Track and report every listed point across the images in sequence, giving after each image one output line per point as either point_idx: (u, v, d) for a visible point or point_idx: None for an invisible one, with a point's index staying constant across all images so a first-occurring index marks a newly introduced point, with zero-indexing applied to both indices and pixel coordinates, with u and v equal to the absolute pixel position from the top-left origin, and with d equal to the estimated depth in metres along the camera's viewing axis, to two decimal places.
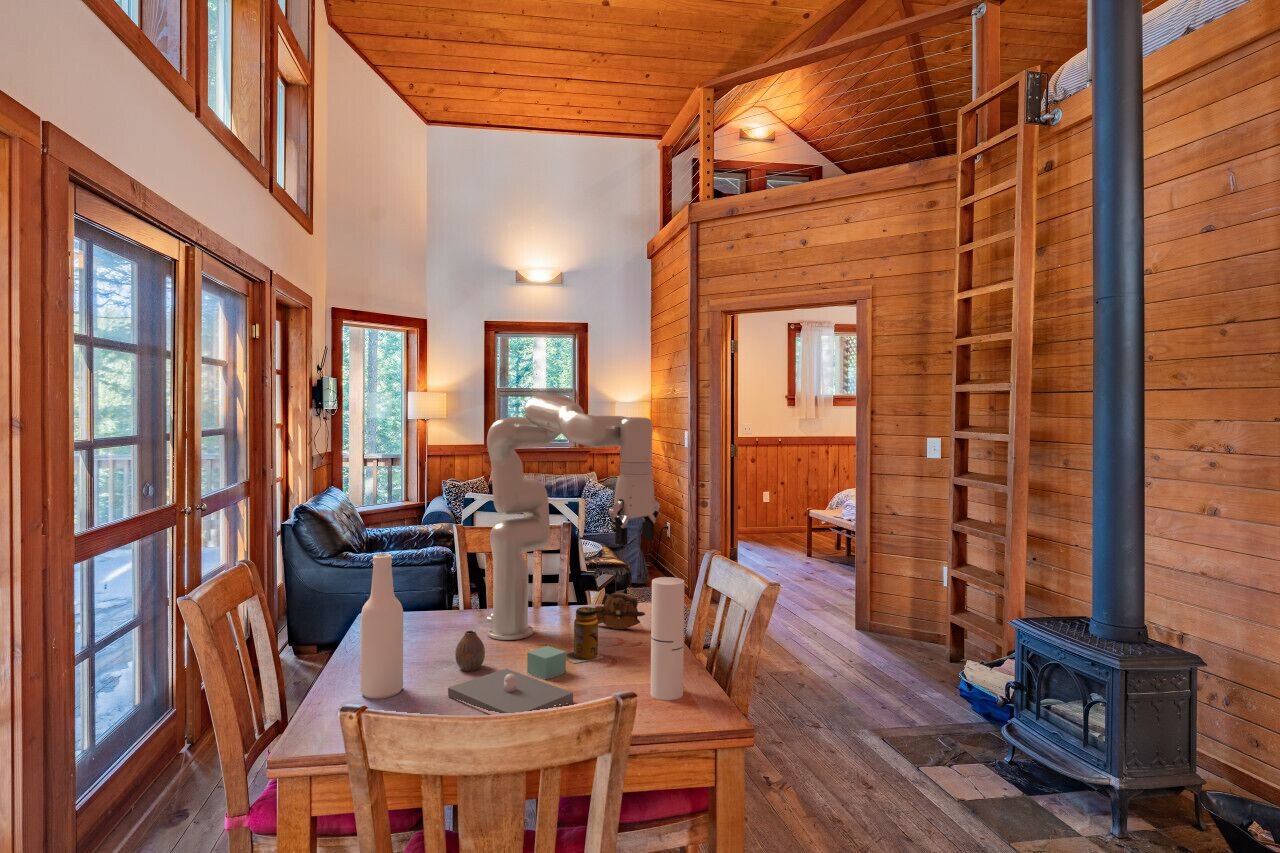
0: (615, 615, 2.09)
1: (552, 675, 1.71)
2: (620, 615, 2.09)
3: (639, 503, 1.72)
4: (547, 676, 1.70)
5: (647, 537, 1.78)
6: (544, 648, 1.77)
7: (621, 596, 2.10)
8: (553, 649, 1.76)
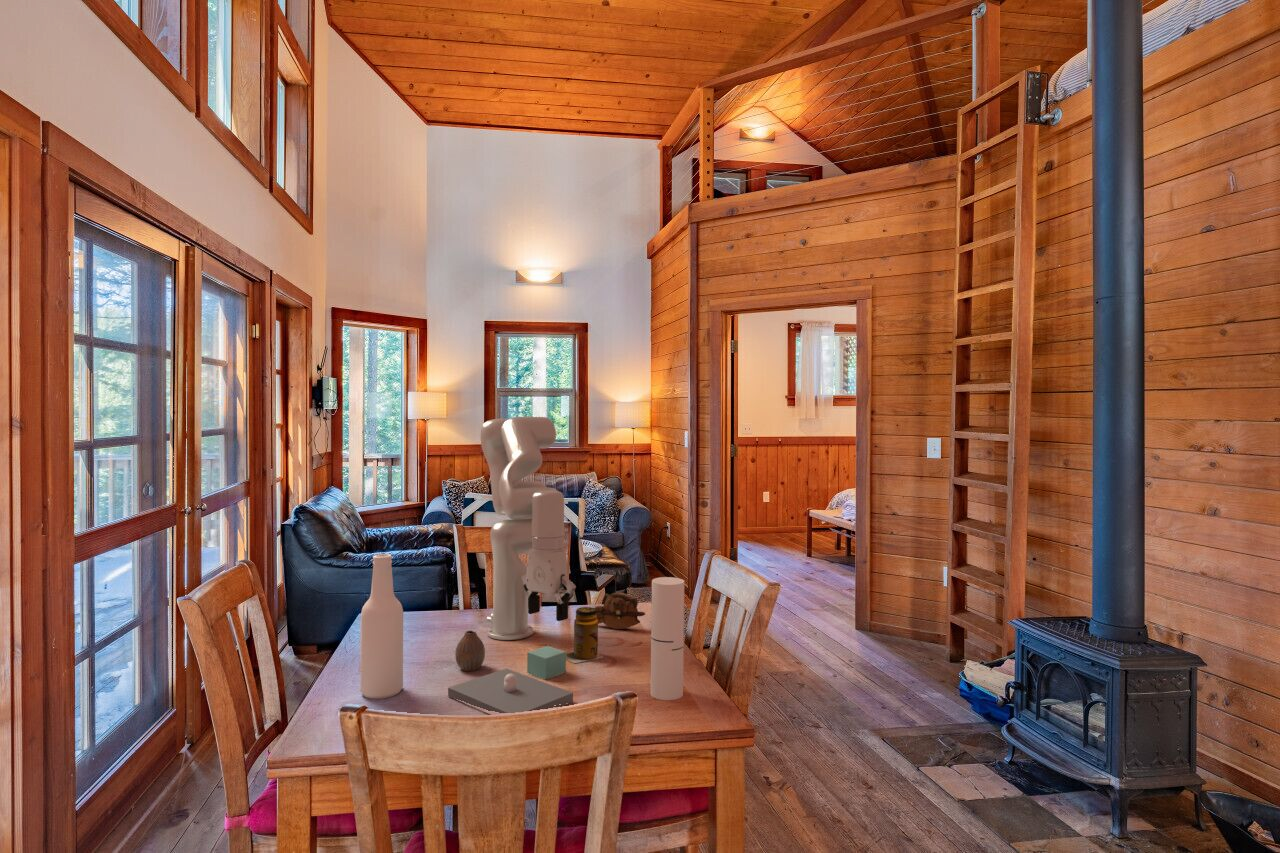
0: (615, 615, 2.09)
1: (552, 675, 1.71)
2: (620, 615, 2.09)
3: None
4: (547, 676, 1.70)
5: (535, 611, 1.76)
6: (544, 648, 1.77)
7: (621, 596, 2.10)
8: (553, 649, 1.76)
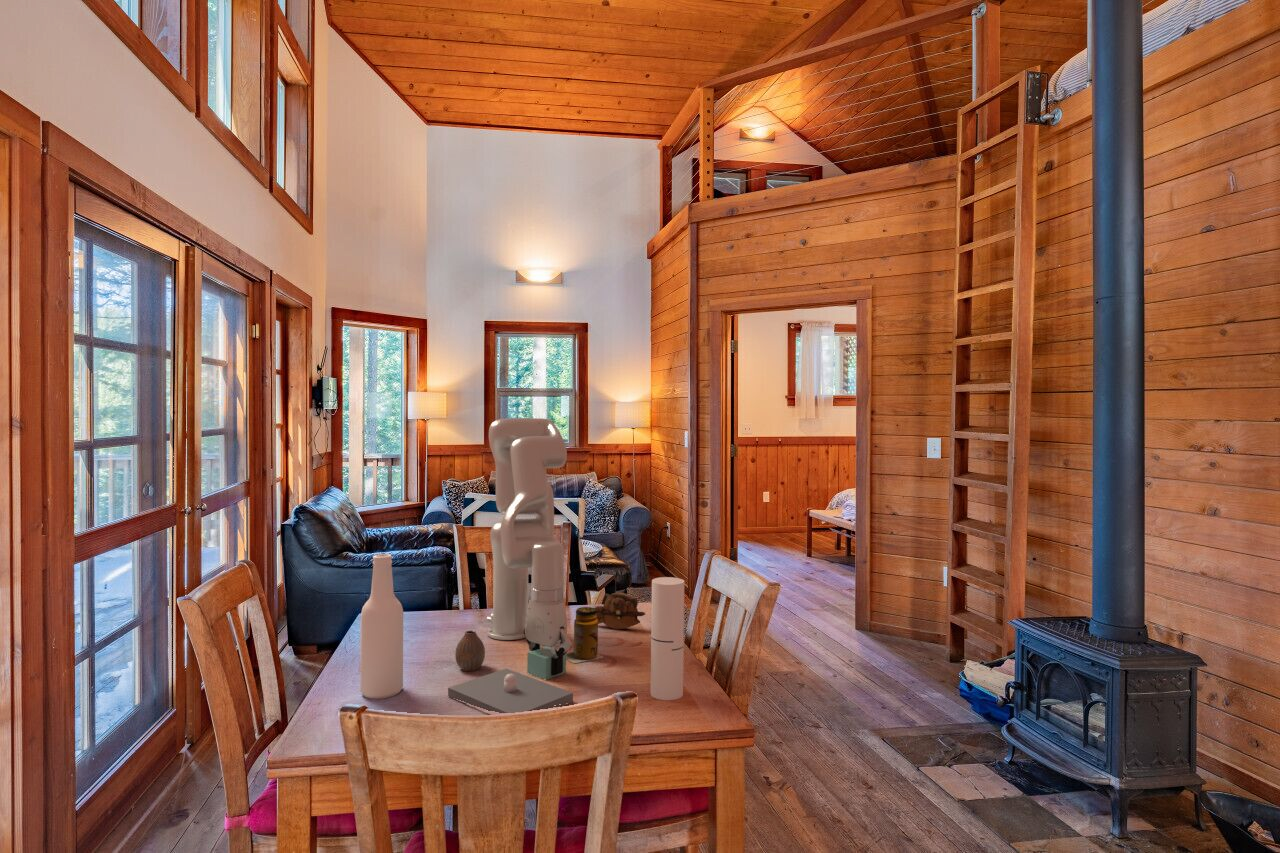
0: (615, 615, 2.09)
1: (552, 675, 1.71)
2: (620, 615, 2.09)
3: None
4: (547, 676, 1.70)
5: None
6: (544, 648, 1.77)
7: (621, 596, 2.10)
8: None
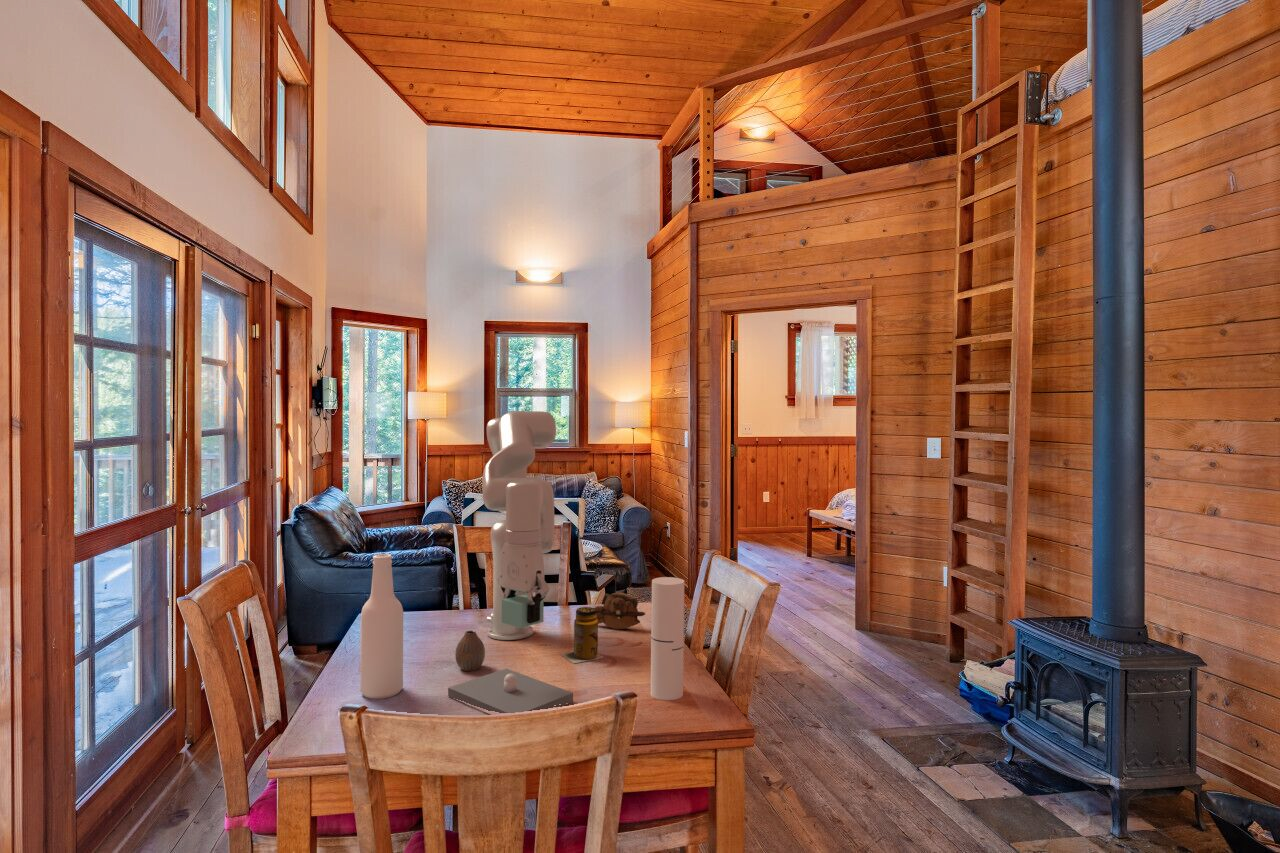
0: (615, 615, 2.09)
1: (528, 623, 1.59)
2: (620, 615, 2.09)
3: None
4: (523, 624, 1.58)
5: None
6: (520, 596, 1.65)
7: (621, 596, 2.10)
8: None
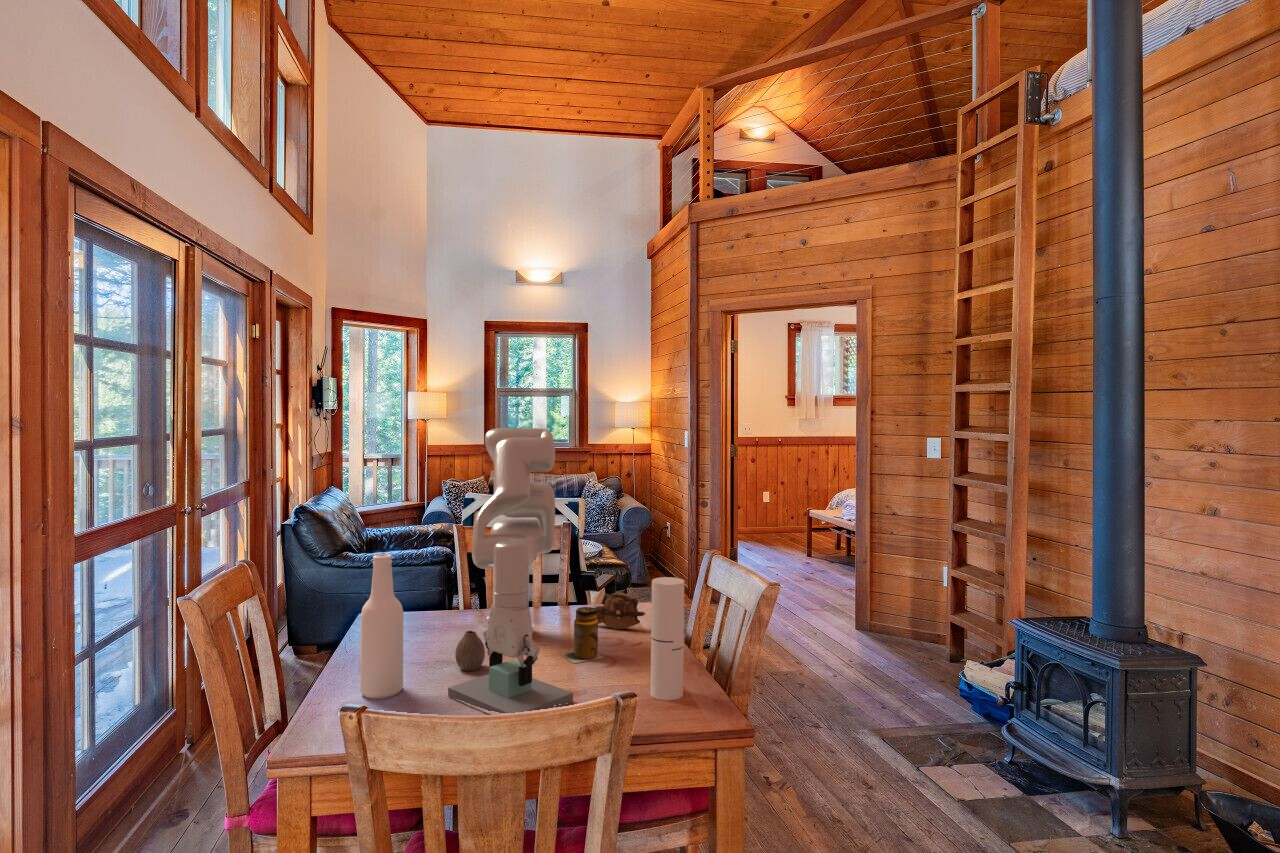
0: (615, 615, 2.09)
1: (515, 693, 1.55)
2: (620, 615, 2.09)
3: None
4: (510, 694, 1.54)
5: None
6: (508, 662, 1.61)
7: (621, 596, 2.10)
8: (518, 663, 1.60)
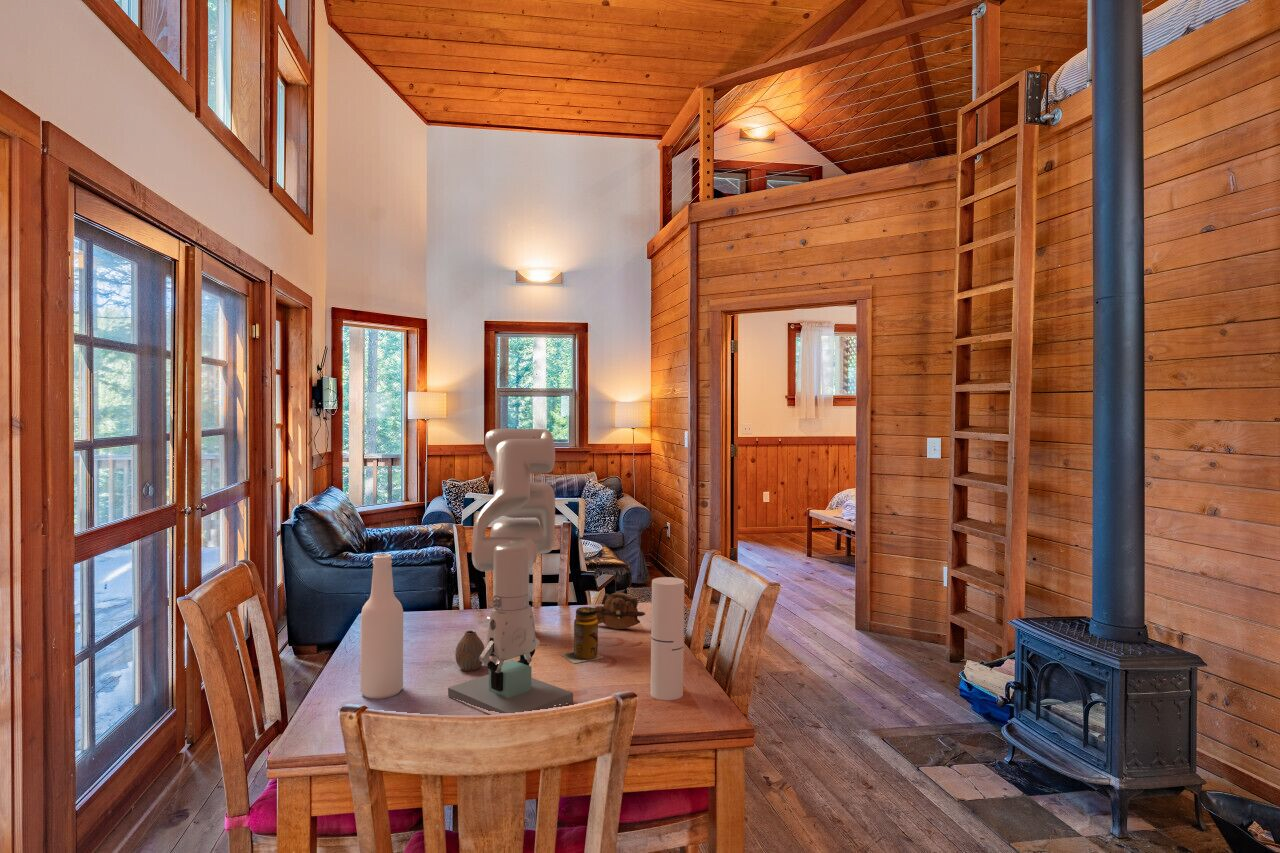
0: (615, 615, 2.09)
1: (515, 693, 1.55)
2: (620, 615, 2.09)
3: None
4: (510, 694, 1.54)
5: None
6: (507, 662, 1.60)
7: (621, 596, 2.10)
8: (518, 663, 1.60)
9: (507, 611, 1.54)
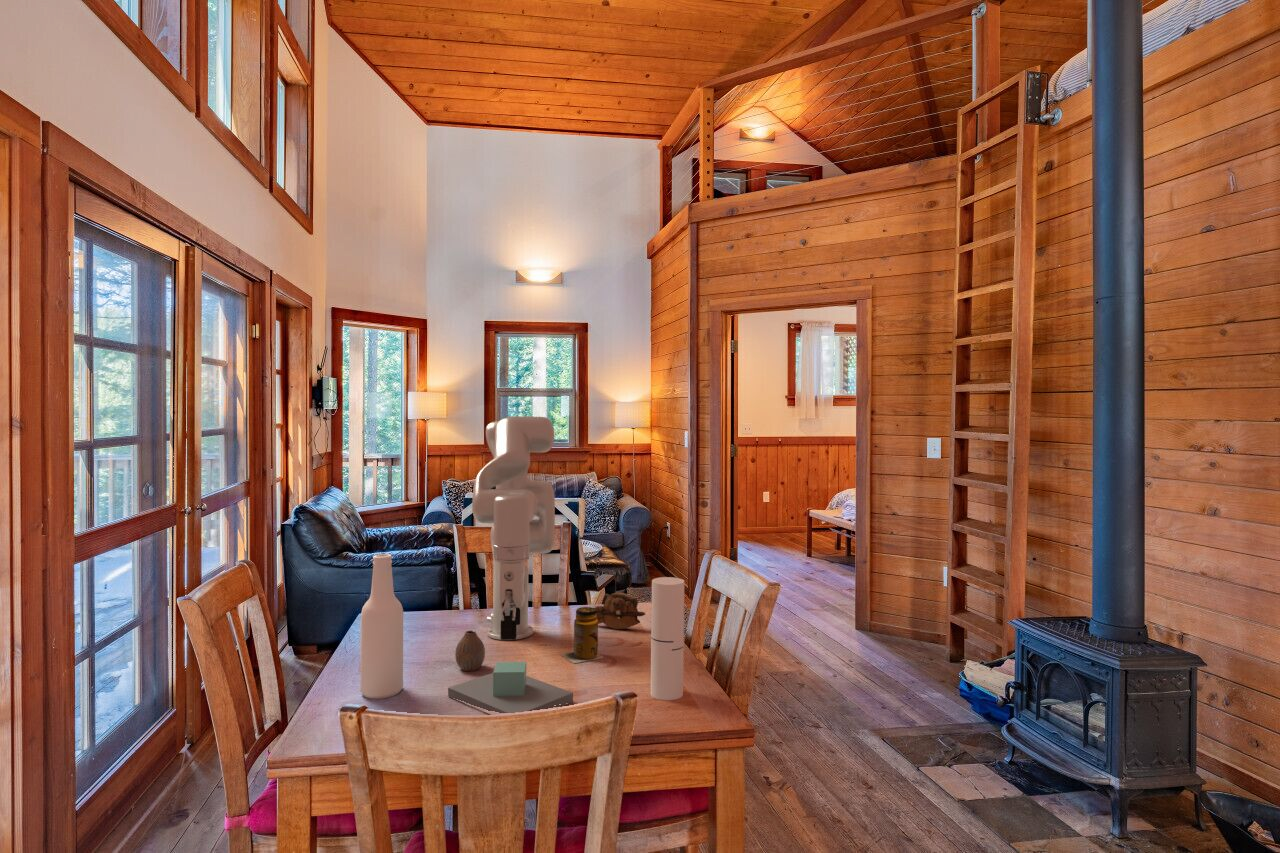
0: (615, 615, 2.09)
1: (524, 689, 1.57)
2: (620, 615, 2.09)
3: None
4: (524, 691, 1.56)
5: None
6: (499, 665, 1.59)
7: (621, 596, 2.10)
8: (510, 663, 1.60)
9: (521, 560, 1.55)
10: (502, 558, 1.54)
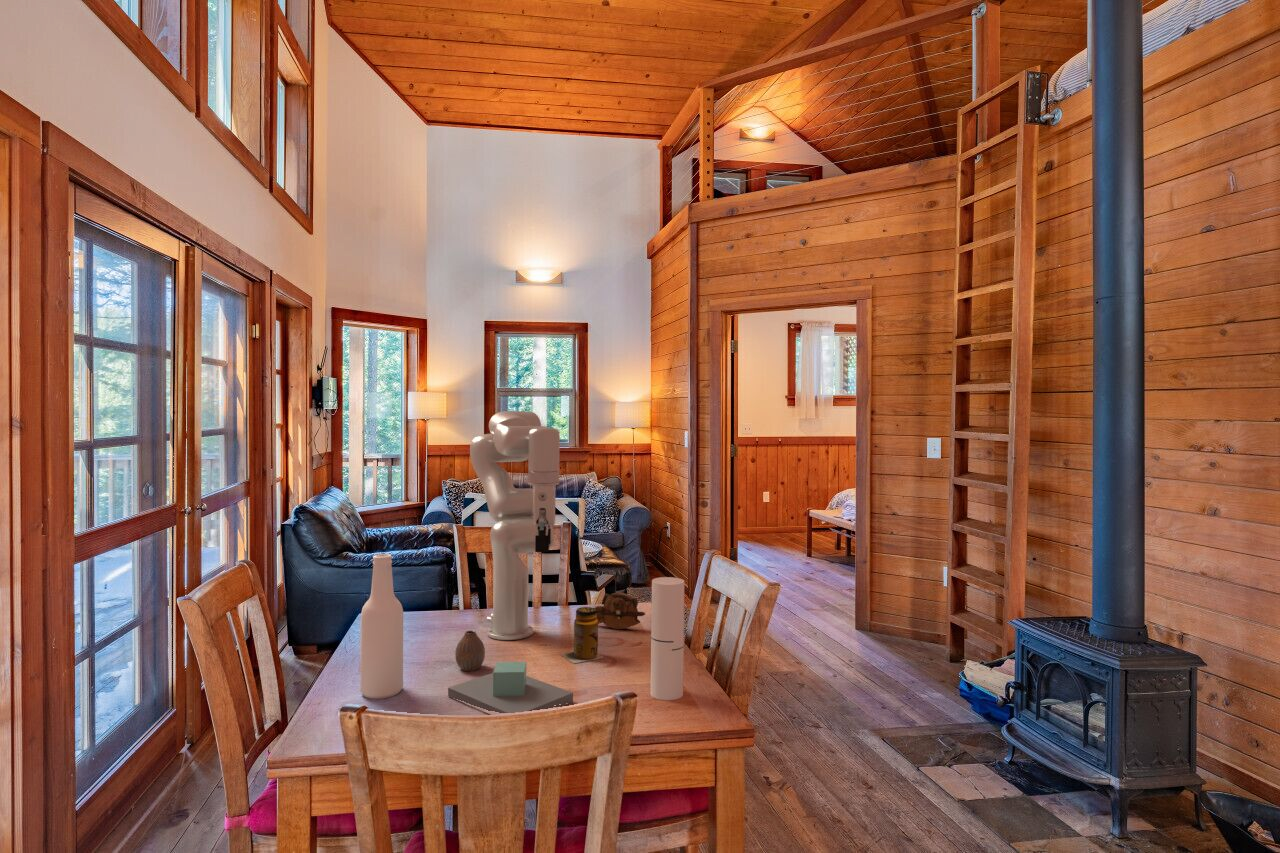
0: (615, 615, 2.09)
1: (524, 689, 1.57)
2: (620, 615, 2.09)
3: None
4: (524, 691, 1.56)
5: None
6: (499, 665, 1.59)
7: (621, 596, 2.10)
8: (510, 663, 1.60)
9: (553, 483, 1.77)
10: (536, 481, 1.77)
